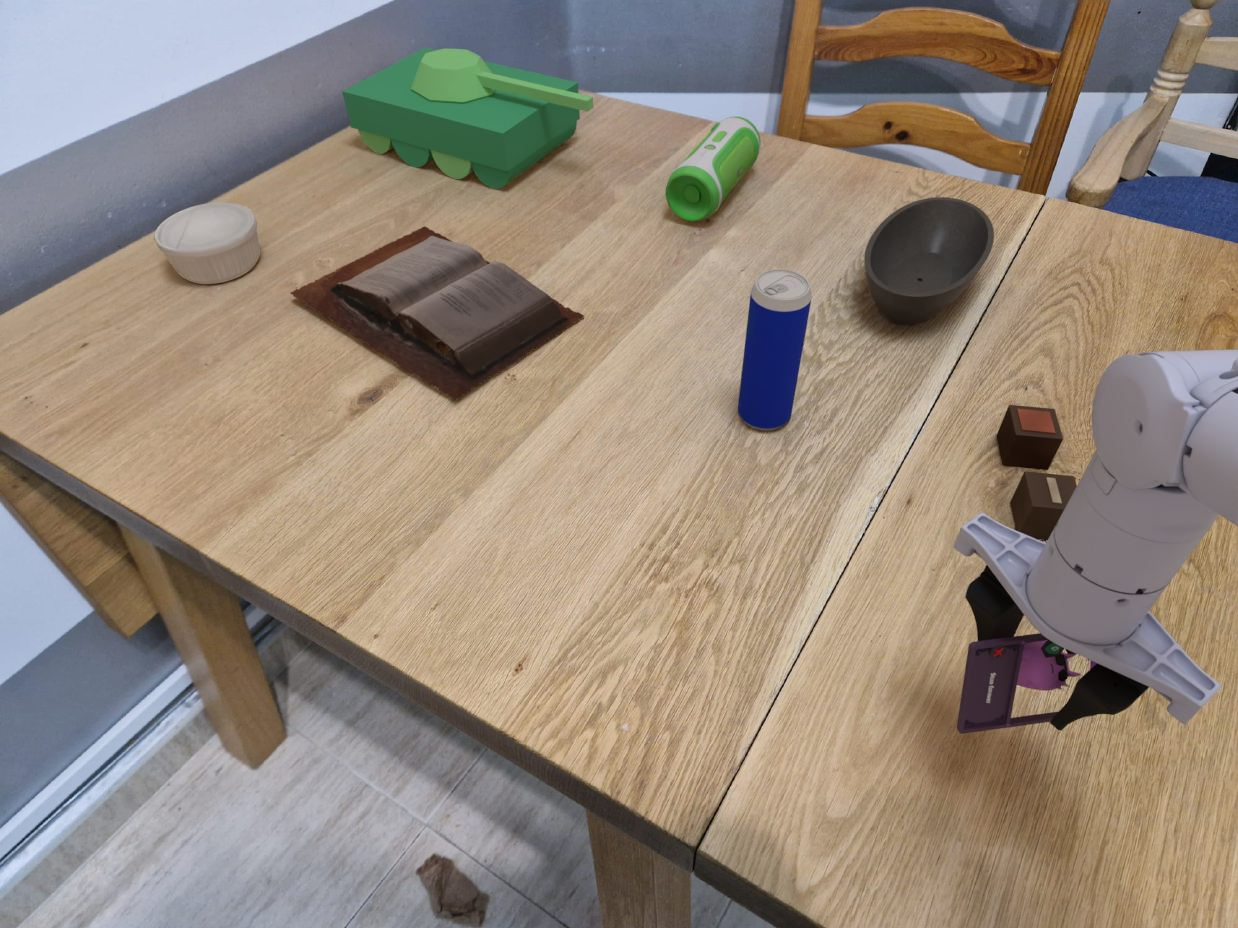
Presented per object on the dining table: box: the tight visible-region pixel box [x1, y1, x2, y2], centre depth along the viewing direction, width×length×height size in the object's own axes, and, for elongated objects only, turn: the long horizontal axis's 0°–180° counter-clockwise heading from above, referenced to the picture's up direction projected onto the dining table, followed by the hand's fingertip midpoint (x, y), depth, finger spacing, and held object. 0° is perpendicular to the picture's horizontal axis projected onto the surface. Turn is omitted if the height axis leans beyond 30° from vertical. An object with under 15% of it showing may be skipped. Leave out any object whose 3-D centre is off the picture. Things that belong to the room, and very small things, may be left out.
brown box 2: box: [1009, 470, 1078, 542], centre depth 72 cm, size 4×4×4 cm
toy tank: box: [342, 47, 594, 190], centre depth 119 cm, size 18×12×35 cm
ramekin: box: [153, 201, 261, 285], centre depth 102 cm, size 11×11×5 cm
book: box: [290, 226, 585, 401], centre depth 96 cm, size 20×28×4 cm
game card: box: [956, 632, 1097, 735], centre depth 53 cm, size 7×5×9 cm
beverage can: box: [737, 268, 813, 431], centre depth 78 cm, size 5×5×15 cm
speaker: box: [665, 116, 761, 223], centre depth 111 cm, size 18×7×8 cm, turn 154°
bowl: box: [863, 196, 995, 326], centre depth 96 cm, size 12×22×6 cm, turn 148°
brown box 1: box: [995, 404, 1064, 471], centre depth 78 cm, size 4×4×4 cm
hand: (1026, 686), depth 53 cm, fingers closed on game card, 5 cm apart
